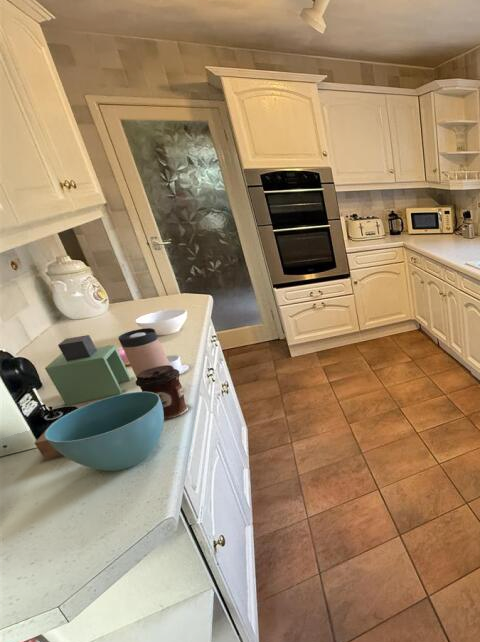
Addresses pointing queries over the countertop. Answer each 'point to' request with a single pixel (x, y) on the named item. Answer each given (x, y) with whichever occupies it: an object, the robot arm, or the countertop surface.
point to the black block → (77, 347)
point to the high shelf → (89, 375)
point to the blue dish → (110, 431)
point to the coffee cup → (164, 388)
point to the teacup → (177, 363)
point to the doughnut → (124, 357)
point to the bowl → (163, 321)
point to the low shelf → (47, 448)
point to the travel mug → (143, 349)
